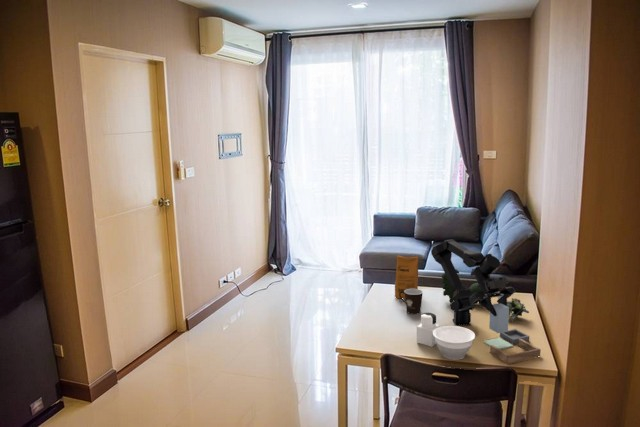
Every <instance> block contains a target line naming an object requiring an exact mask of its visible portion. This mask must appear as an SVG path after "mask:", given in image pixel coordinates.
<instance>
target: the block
mask: <svg viewBox="0 0 640 427" xmlns="http://www.w3.org/2000/svg"><path fill="white" fill-rule="evenodd" d="M492 305H493V307H494V309H495V311H496V314H497V316H494V315H493V314H492V313H490V312H489V324H488V325H489V330H491V331H493V332H495V333H496V334H500V333H501V332H506V331H508V330H509V320H510V319H509V307H507V306H505V305H503V304H501V303H498V302H497V303H492Z"/></svg>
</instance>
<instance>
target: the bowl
mask: <svg viewBox="0 0 640 427" xmlns="http://www.w3.org/2000/svg"><path fill="white" fill-rule="evenodd" d="M433 336H434V337H435V340H436V344H435V345H436V346H437V348H438V349H439V351H440V352H441V355H442V356H443V358H446V359H448V360H454V361H455V360H457V361H458V360H461V359H464V358H465V356H466V355H467V354H468V352H469V351H470V350H471V348H472V344H473V341H474V340H475V338H476V334H475V332H474V331H473V330H471V329H469V328H468V327H467V328H466V327H464V326H463V327H462V326H460V325H458V326H457V325H443V326H442V325H441V326H440V327H438V328H436V329H435V330H434V331H433Z"/></svg>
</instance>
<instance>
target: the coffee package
mask: <svg viewBox="0 0 640 427" xmlns="http://www.w3.org/2000/svg"><path fill="white" fill-rule="evenodd" d="M418 266H419V257H418V256H409V257H406V256H402V255H397V258H396V271H395V281H394V297H396V298H400V296H399V293H400V292H401V291H403V292H404V291H405V290H407V289H419V288H418V283H419V281H418V280H419V267H418ZM400 295H401V297H402V298H403V300H405V294H404V293H401V294H400ZM396 298H395V299H396Z"/></svg>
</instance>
